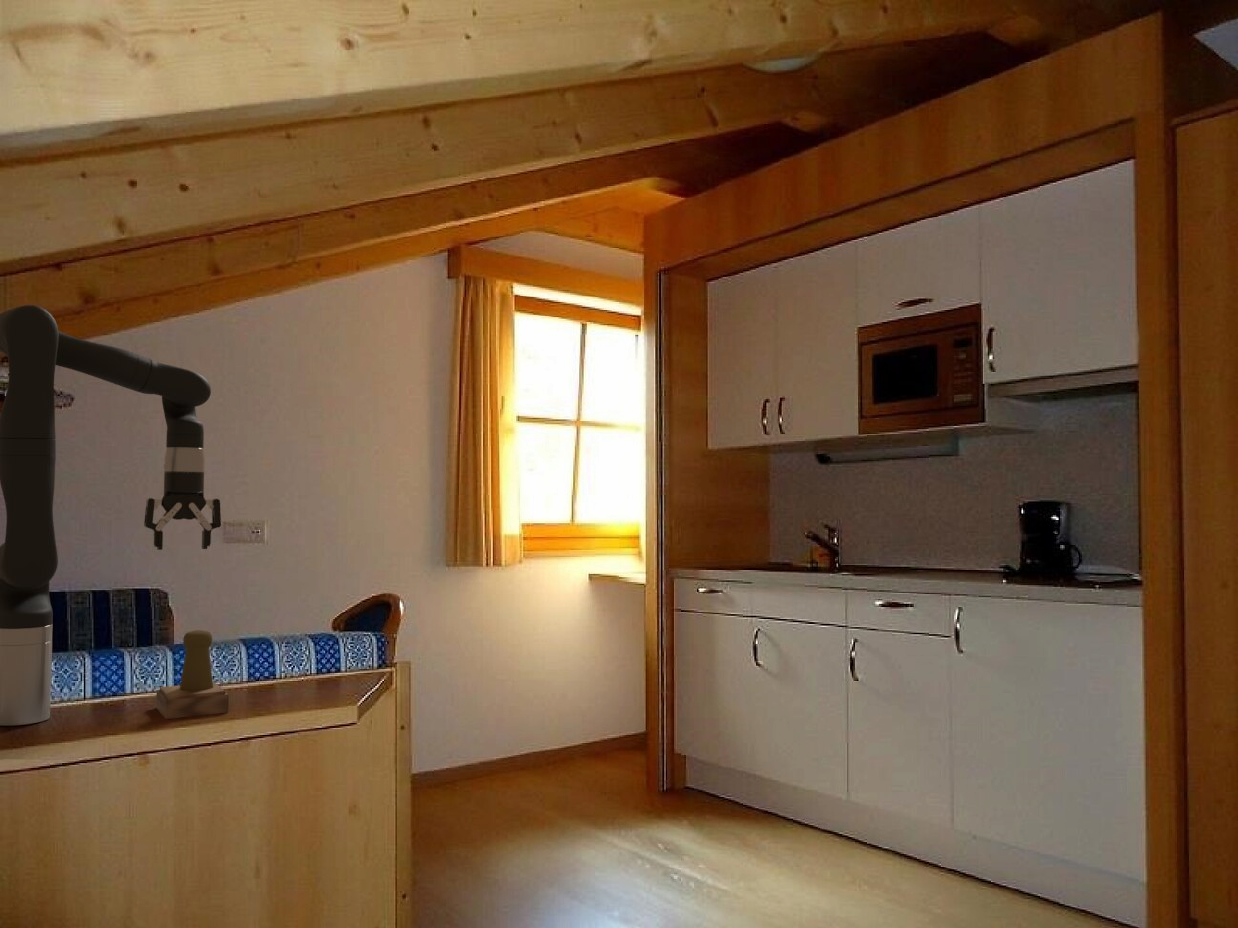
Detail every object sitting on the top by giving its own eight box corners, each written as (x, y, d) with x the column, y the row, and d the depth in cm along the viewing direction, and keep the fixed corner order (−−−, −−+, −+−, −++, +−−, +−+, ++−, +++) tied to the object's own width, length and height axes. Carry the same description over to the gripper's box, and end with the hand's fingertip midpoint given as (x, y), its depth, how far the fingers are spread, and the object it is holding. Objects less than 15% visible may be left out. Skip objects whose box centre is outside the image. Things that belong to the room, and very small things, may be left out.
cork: (205, 691, 190) (206, 633, 190) (173, 690, 190) (175, 632, 190) (218, 685, 196) (220, 628, 196) (188, 684, 196) (189, 628, 196)
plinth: (165, 718, 184) (166, 697, 184) (156, 707, 193) (156, 686, 193) (228, 712, 190) (228, 691, 190) (216, 701, 199) (216, 681, 199)
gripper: (149, 469, 197) (147, 551, 197) (224, 470, 205) (223, 549, 205) (143, 469, 204) (141, 549, 203) (217, 471, 211) (215, 547, 211)
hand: (182, 549), depth 204 cm, fingers open, 8 cm apart
